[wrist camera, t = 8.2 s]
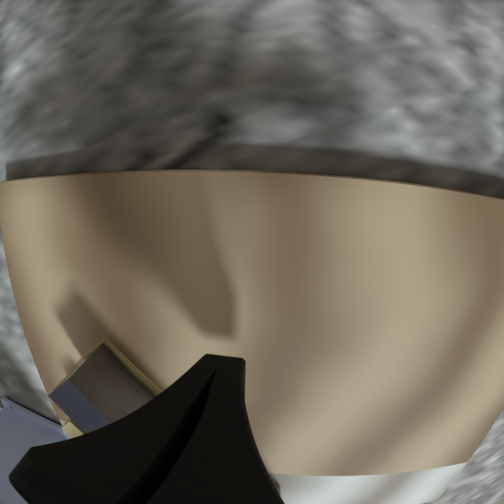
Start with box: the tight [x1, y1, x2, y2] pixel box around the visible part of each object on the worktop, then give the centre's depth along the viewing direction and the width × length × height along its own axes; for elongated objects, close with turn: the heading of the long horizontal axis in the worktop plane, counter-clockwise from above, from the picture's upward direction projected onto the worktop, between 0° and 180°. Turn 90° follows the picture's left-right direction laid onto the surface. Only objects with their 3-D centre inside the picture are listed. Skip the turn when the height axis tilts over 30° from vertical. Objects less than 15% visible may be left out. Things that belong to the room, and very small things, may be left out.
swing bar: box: [48, 343, 281, 497], centre depth 12 cm, size 14×3×4 cm, turn 39°
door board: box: [0, 169, 504, 504], centre depth 12 cm, size 26×20×4 cm
